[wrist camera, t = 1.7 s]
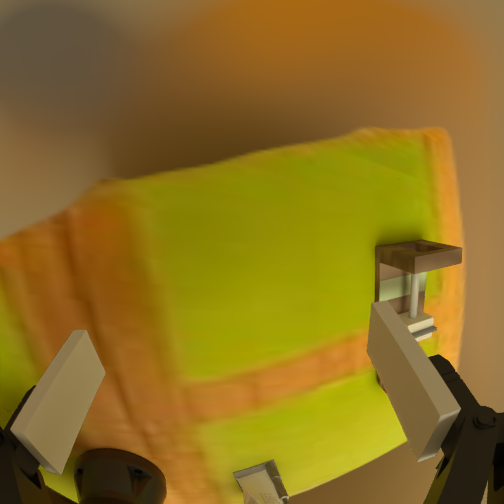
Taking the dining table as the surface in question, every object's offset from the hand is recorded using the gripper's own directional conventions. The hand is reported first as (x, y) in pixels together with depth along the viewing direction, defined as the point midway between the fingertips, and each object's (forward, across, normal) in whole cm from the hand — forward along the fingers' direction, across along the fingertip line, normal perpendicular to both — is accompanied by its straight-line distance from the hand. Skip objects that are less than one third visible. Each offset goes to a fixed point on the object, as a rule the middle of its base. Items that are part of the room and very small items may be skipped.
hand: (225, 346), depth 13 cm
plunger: (+25, -22, +14) cm, 36 cm away
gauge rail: (+26, -22, +15) cm, 37 cm away
